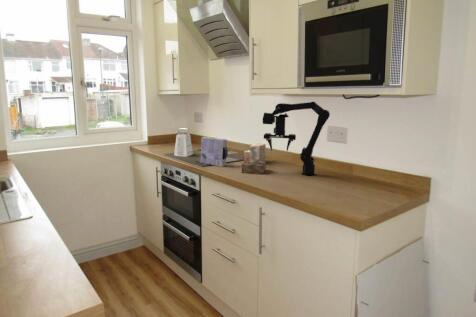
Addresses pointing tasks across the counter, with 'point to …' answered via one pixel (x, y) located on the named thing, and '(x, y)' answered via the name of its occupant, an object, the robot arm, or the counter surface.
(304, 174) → the robot arm
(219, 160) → the cake pan box
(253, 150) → the mottled grey cylinder
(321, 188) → the counter surface
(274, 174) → the counter surface
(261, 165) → the groove block
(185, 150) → the grater
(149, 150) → the counter surface
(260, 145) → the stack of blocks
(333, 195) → the counter surface
